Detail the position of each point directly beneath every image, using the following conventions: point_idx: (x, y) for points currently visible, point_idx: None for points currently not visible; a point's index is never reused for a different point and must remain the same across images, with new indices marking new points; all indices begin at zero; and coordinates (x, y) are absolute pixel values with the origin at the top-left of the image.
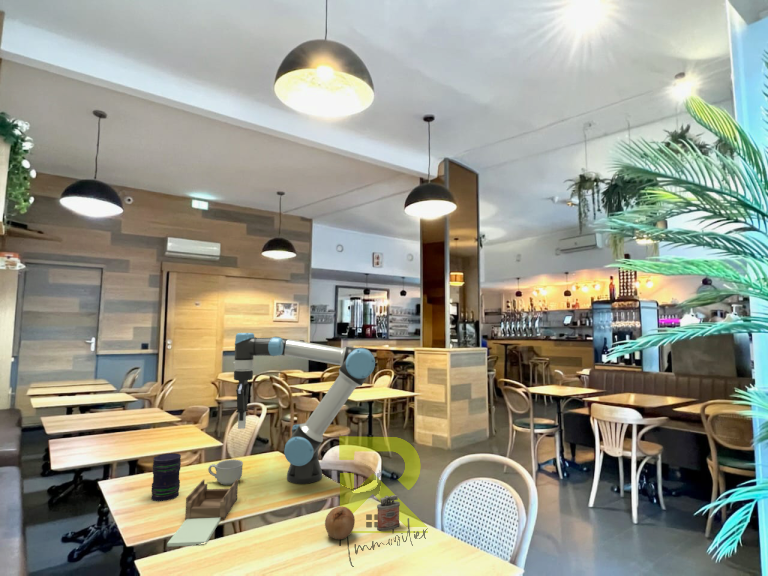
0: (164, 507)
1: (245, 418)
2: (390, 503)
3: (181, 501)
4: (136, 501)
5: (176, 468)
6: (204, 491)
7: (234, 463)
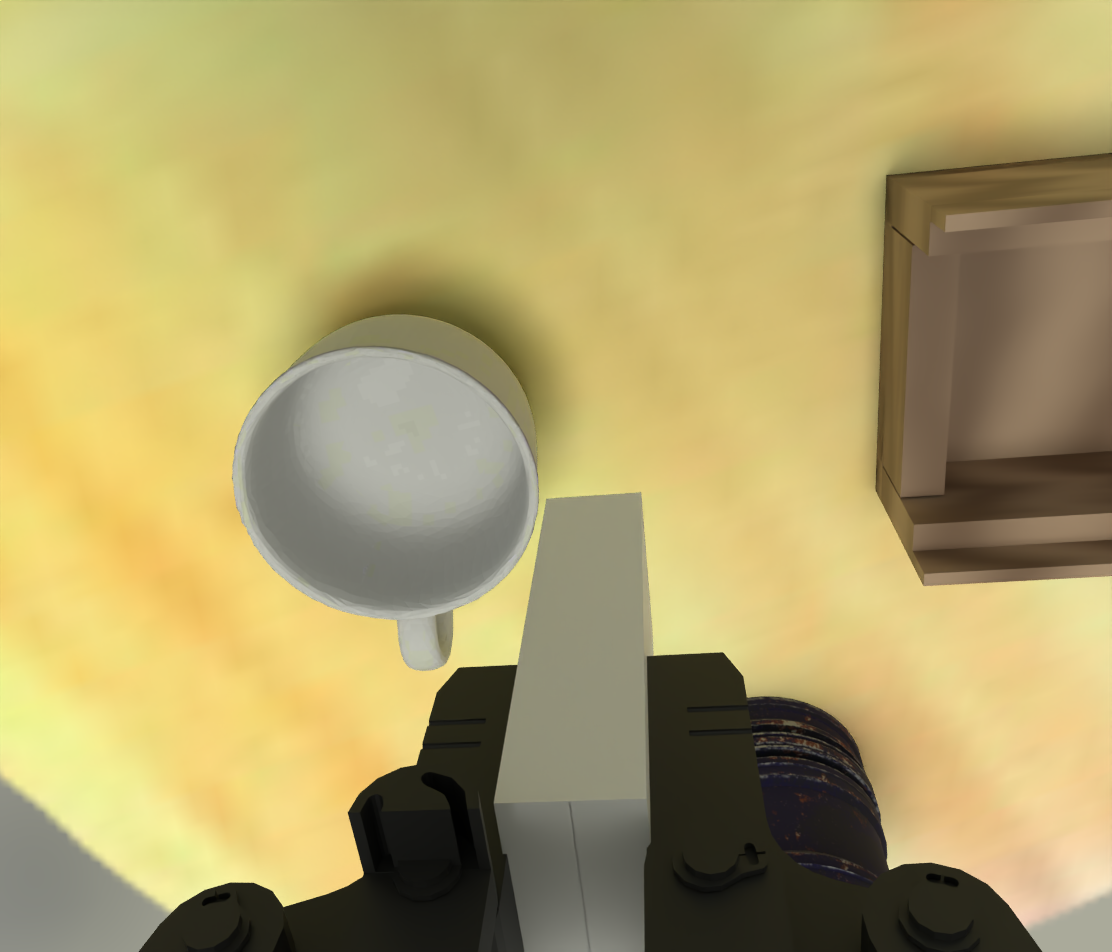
0: (993, 701)
1: (556, 640)
2: None
3: (881, 634)
4: None
5: None
6: (986, 498)
7: (260, 465)
